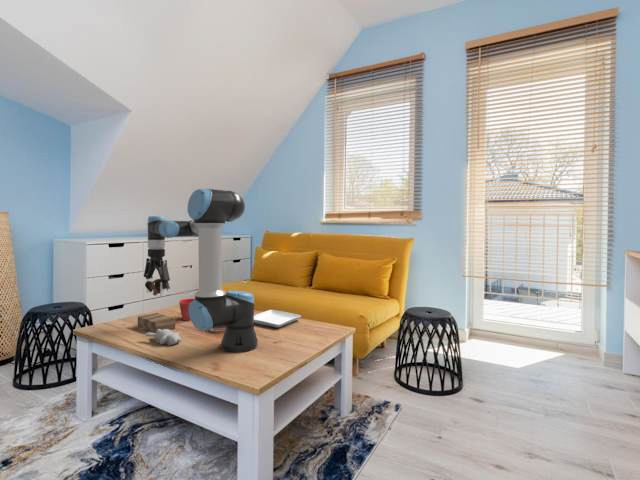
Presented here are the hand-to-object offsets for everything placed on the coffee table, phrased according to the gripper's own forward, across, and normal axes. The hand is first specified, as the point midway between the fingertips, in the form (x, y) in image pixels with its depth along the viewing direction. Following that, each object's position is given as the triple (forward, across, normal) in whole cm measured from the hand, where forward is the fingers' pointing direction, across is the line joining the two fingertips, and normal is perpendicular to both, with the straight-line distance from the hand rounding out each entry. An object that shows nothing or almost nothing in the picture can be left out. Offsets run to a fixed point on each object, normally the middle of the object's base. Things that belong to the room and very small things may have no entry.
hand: (156, 293), depth 180 cm
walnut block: (+17, 0, 0) cm, 17 cm away
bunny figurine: (+17, -22, +9) cm, 29 cm away
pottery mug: (0, +1, -1) cm, 1 cm away
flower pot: (+17, +2, -20) cm, 26 cm away
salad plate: (+17, -36, -45) cm, 60 cm away
